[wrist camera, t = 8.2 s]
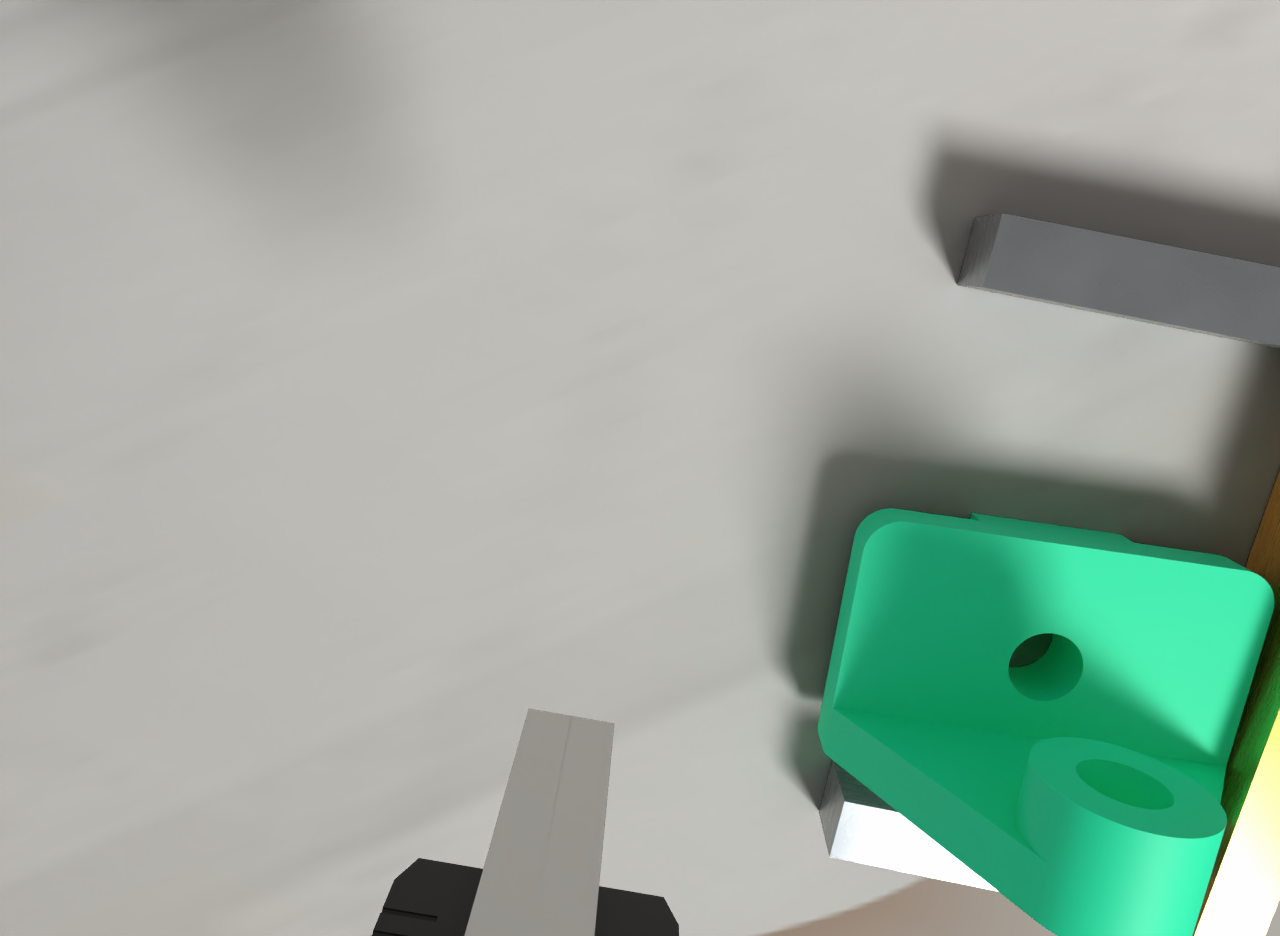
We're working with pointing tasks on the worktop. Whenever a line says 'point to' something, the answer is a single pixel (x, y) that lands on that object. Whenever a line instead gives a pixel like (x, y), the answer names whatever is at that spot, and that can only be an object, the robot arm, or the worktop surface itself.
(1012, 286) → the dock
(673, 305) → the worktop surface
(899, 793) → the camera mount
